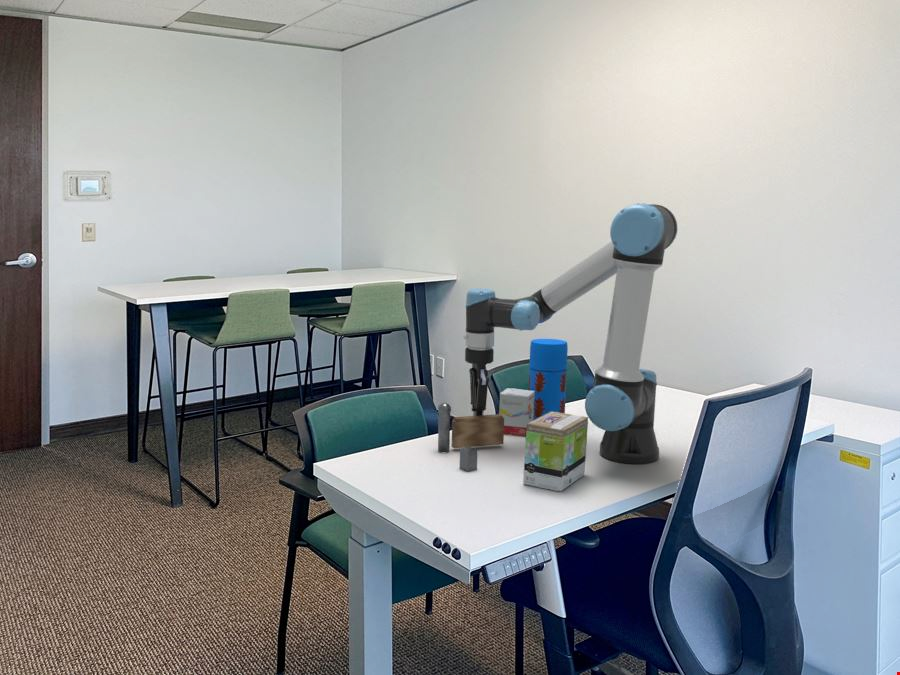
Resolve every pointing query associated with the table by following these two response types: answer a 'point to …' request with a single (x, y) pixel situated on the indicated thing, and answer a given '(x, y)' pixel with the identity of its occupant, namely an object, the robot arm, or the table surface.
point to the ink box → (516, 410)
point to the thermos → (548, 375)
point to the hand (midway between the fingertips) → (477, 433)
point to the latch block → (468, 459)
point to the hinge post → (444, 427)
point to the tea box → (555, 450)
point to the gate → (477, 431)
